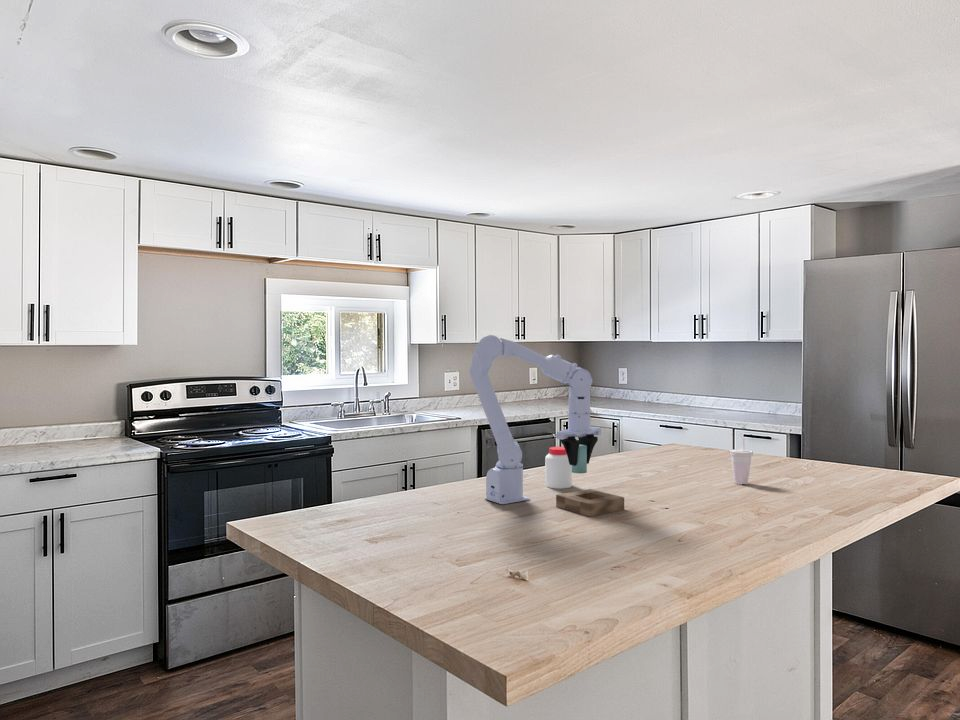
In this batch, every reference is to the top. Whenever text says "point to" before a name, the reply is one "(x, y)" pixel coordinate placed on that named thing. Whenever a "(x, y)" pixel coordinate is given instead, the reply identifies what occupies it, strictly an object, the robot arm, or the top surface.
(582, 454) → the dowel
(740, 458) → the smoothie
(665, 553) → the top surface
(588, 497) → the socket block
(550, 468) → the pill bottle
